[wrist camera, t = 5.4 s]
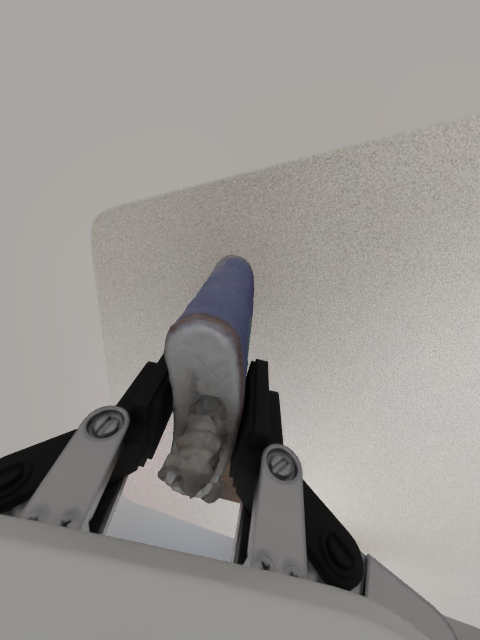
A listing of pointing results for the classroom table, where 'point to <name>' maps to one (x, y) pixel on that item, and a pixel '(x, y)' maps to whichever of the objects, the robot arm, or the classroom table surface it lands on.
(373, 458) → the classroom table surface
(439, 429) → the classroom table surface
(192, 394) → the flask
